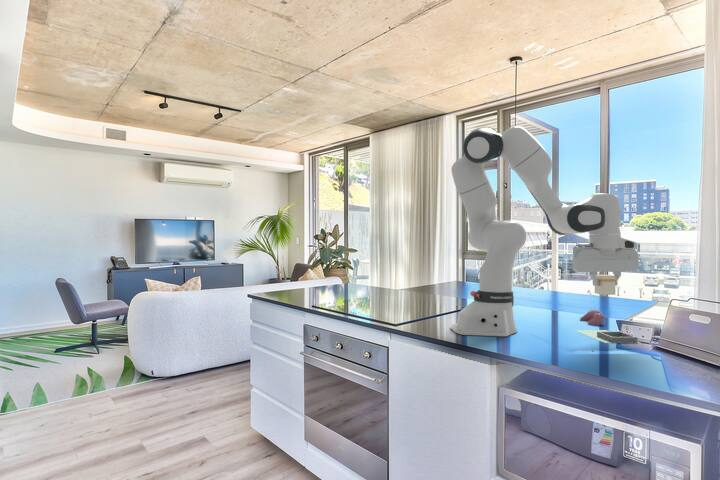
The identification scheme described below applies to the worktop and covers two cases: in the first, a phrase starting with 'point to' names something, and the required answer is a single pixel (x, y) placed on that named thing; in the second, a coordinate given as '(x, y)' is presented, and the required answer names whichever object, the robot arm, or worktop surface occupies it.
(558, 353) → the worktop surface
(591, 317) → the reddish-brown rounded lump
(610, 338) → the board
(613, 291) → the plug
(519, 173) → the robot arm
